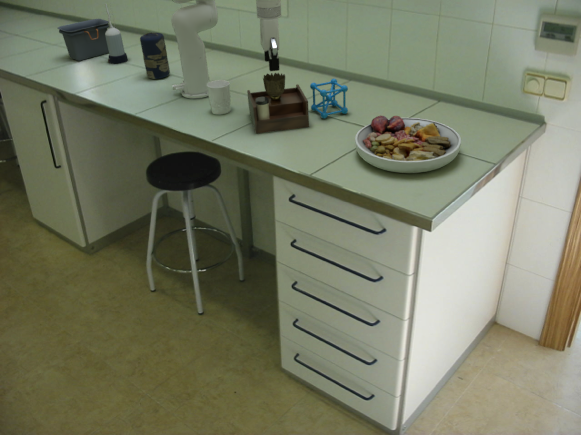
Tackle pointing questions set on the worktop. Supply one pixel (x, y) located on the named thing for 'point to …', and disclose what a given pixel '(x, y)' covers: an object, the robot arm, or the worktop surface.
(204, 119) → the worktop surface
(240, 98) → the worktop surface
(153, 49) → the canister
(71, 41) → the storage bin
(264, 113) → the spice jar
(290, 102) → the spice rack
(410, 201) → the worktop surface
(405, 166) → the bowl
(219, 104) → the white cup
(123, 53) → the humidifier
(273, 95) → the brown hollow bell-shaped piece
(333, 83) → the molecular structure
